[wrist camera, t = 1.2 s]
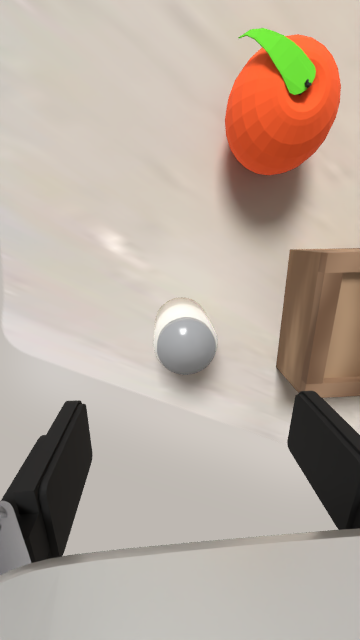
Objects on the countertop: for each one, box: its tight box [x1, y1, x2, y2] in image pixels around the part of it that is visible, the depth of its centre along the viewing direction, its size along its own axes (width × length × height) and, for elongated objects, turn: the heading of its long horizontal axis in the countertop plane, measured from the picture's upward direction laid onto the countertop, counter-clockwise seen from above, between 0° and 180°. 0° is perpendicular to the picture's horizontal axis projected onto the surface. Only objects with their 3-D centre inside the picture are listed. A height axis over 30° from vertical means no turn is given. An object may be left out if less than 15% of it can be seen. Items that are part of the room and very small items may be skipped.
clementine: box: [225, 28, 341, 175], centre depth 16 cm, size 8×7×7 cm
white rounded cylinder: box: [153, 298, 218, 375], centre depth 21 cm, size 5×5×6 cm
